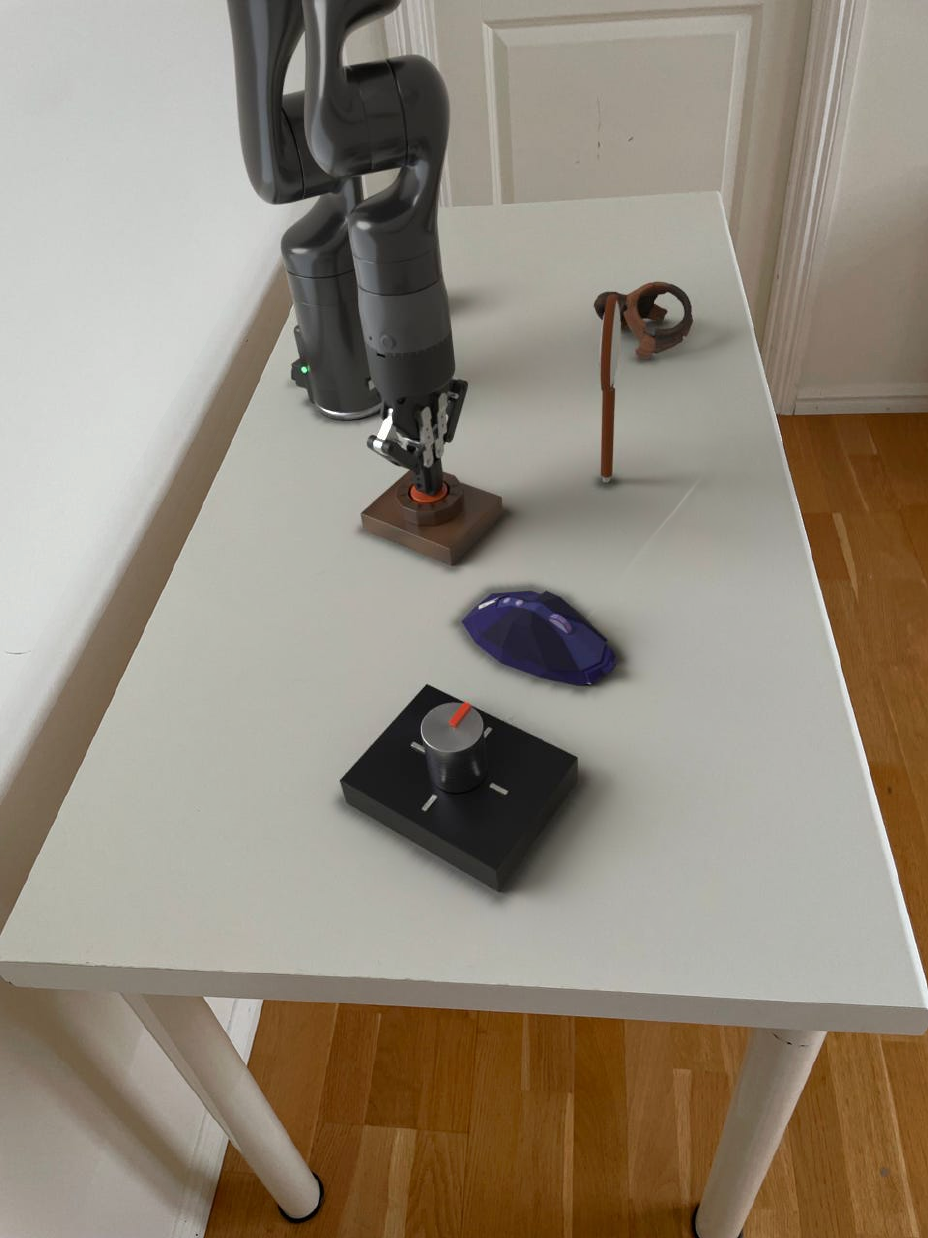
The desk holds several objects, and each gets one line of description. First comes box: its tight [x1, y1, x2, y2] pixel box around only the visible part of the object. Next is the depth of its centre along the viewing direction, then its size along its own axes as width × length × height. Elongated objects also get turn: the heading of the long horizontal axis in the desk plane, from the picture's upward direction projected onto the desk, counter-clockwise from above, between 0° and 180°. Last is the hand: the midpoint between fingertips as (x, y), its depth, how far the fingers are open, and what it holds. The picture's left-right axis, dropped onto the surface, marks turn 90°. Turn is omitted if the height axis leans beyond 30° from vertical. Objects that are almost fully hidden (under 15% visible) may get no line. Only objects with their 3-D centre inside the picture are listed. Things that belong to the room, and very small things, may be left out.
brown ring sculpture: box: [593, 281, 694, 360], centre depth 114 cm, size 12×10×8 cm
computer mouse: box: [460, 590, 617, 686], centre depth 81 cm, size 9×15×4 cm, turn 50°
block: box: [360, 469, 504, 567], centre depth 93 cm, size 11×9×4 cm
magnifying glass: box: [599, 294, 622, 483], centre depth 90 cm, size 9×2×20 cm, turn 168°
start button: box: [411, 483, 448, 504], centre depth 92 cm, size 4×4×2 cm
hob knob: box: [421, 701, 488, 793], centre depth 68 cm, size 4×4×5 cm
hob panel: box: [339, 683, 579, 893], centre depth 71 cm, size 14×11×3 cm
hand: (429, 490), depth 92 cm, fingers closed
